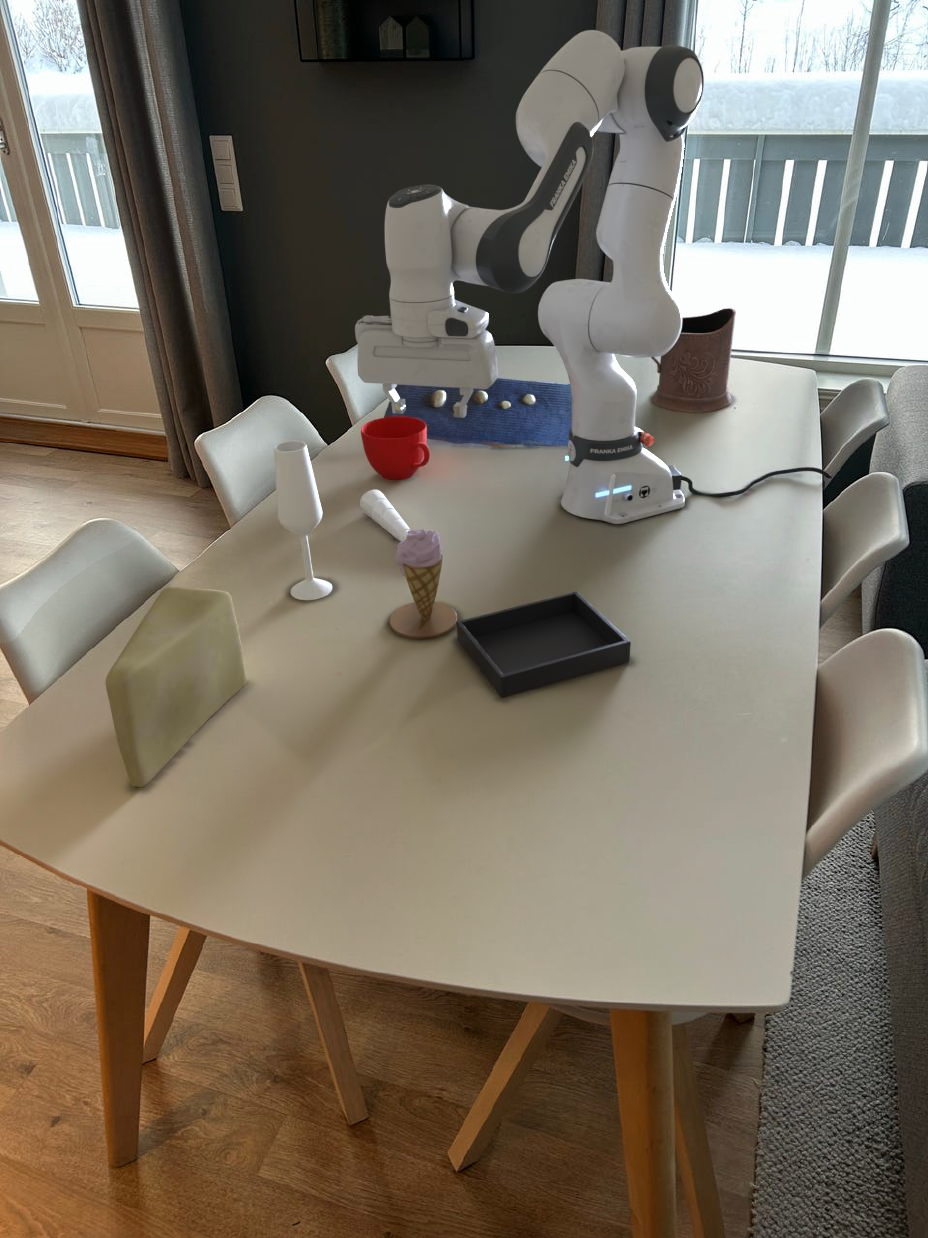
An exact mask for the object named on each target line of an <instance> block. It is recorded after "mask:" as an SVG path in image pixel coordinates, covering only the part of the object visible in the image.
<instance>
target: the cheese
mask: <svg viewBox="0 0 928 1238" xmlns="http://www.w3.org/2000/svg"><path fill="white" fill-rule="evenodd" d="M105 677H106V678H105V682H104V683H105V690H106V694H107V698H108V703H109V708H110V713H111V719H112V723H113V726H114V733H115V737H116V741H117V745H118V748H119V752H120V755H121V759H122V761H123V764H124V767H125V771H126V773H127V776H128V779H129V782H130V785H131V786H132V787H136V788H144V787H145V786H147V785H148V784H149V783H150V782H151V781H153V779H154V778H155V777H156V776H157V775H158V774H159V773H160V772H161V770H162V769H163V768H164V767H165V766H166V765H167V764H168V763H169V762H170V761H171V760H172V759H173V757H175V755H176V754H177V753H178V752H180V750H181V749H182V748H183V747H184V746H185V744H186V743H187V742H189V740H190V739H191V738H192V737H193V736H194V735H195V734H196V733H197V732H198V731H199V730H200V729H201V728H202V727H203V725H205V724H206V723H207V721H208V720H210V719H211V717H212V716H213V715H215V714H216V713H217V712H218V711H219V710H220V709H221V708H222V707H223V706H224V705H225V704H227V702H229V700H230V699H231V698H232V697H234V696H235V695H236V694H237V693H238V692H239V691H240V690H241V689H243V687H245V685H246V684H247V673H246V668H245V661H244V655H243V648H242V642H241V636H240V632H239V626H238V622H237V617H236V613H235V607H234V602H233V599H232V596H231V594H230V593H229V592H228V591H225V590H219V589H208V588H207V589H205V588H193V587H179V586H178V587H177V586H171V587H170V586H169V587H165V588H163V589H162V590H161V591H160V592H159V594H158V596H157V597H156V599H155V600H154V601H153V603H152V604H151V606H150V608H149V609H148V610H147V612H146V614H145V615H144V616H143V618H142V620H141V621H140V623H139V624H138V626H137V628H136V629H135V630H134V633H133V634H132V635H131V637H130V638H129V639H128V641H127V643H126V645H125V646H124V647H123V650H122V651H121V652H120V654H119V656H118V657H117V659H116V661H115V662H114V663H113V665H112V666H111V668H110V669H109V671H108V673H107V674H106V676H105Z"/></svg>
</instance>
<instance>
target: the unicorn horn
mask: <svg viewBox="0 0 928 1238" xmlns="http://www.w3.org/2000/svg"><path fill="white" fill-rule="evenodd" d="M359 507H360V509H361V511H362V513H364V514H365V515H367V516H368V517H369V518H370V519H372V521H374V522H376V523H377V524H378V526H380V527H382V528H383V529H384V530H385V531H387V532H388V533H389V534H391V536H393V537H394V538H395V539H396V540H397V541H399V542H402V541H404V540H406V538H407V535H408V531H409V530H411V529H410V527H409V526H408V524H407V523H406V522H405V521H404V520H403V518H402V517H401V516H400V514H399V513H398V512H397V510H396V509H395V508H394V507H393V505H392V504H391V502H390V501H389V500H388V499H387V498H386V496H385V494H384V493H383V492H382V491H380V490H379V489H370V490H367V491H366V492H364V493H363V495H362V496H361V497H360V500H359Z"/></svg>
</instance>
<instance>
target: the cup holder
mask: <svg viewBox="0 0 928 1238" xmlns="http://www.w3.org/2000/svg"><path fill="white" fill-rule="evenodd" d="M736 312H737V311H736V309H734V308H733V307H725V308H722V309H720V310H716V311H714V312H712V313H707V314H702V315H696V316H695V315H694V316H685V317H683V316H682V328H681V332H680V335H679V338H678V340H677V341H676V343H675V345H674V346H673V347H672V348H671V349H670V350H669V351H668V352H667V353H666V354H665V355H663V356H660V362H659V360H658V359H657V357H650V358H651V359H652V360H653V361H654V363H655V364H656V373H657V374H659V376H658V384H657V386H656V391H655V392H654V393H653V395H652V396H651V400H652V402H653V403H654V404H656V405H657V406H659V407H662V408H665V409H667V410H673V411H678V412H688V413H691V412H692V413H693V412H694V413H695V412H696V413H698V412H699V413H700V412H710V411H711V412H713V411H717V410H721V409H723V408H726V407H728V406H729V405H731V403H732V397H731V395H730V393H729V385H728V384H729V376H730V375H729V374H730V367H731V359H732V358H731V357H732V351H733V350H732V348H733V341H734V331H735V322H736Z"/></svg>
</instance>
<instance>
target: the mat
mask: <svg viewBox="0 0 928 1238" xmlns="http://www.w3.org/2000/svg"><path fill="white" fill-rule="evenodd" d="M394 389H395V391H396V392H397V394H398V396H399V398H400V399H405V406H406V410H405V412H403V414H399V413H393V412H392V402H390V401H389V402H388V404H387V408H386V410H385V412H384V415H383V418H385V417H394V416H405V417H413V418H417V419H420V420H422V421H424V422H425V424H426V427H427V440H431V441H440V442H447V443H451V444H461V445H462V444H474V445H482V446H488V447H493V448H499V449H500V448H503V449H505V448H508V449H509V448H535V447H568V441H569V430H570V428H571V427H572V399H571V387H570V383H558V382H547V381H536V380H523V379H512V378H502V377H497V379H496V380H495V382H494V383H493V384H492V385H491V386H490V387H489V388H488V389H473V393H472V395H471V397H470V398H469V400H468V402H467V403H466V405H467V414H466V416H465V417H464V418H460V417H454V411H453V406H454V405H455V404H456V403H457V402H461V400H462V398H463V396H464V395H460V388H453V387H435V386H417V385H398V384H397V386H396V387H395V388H394Z"/></svg>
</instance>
